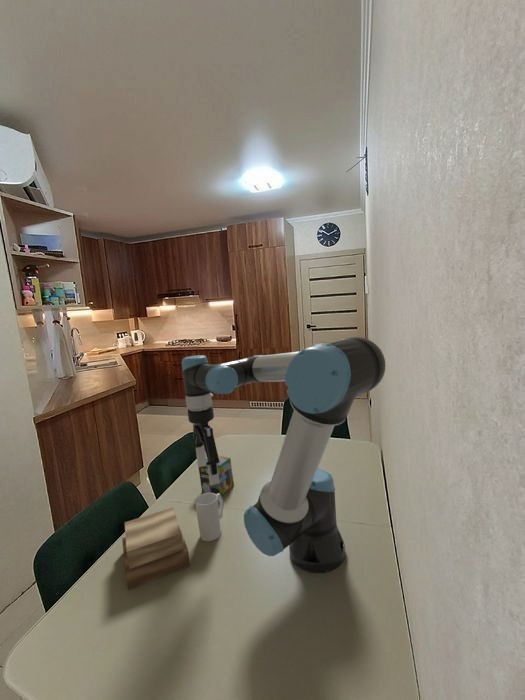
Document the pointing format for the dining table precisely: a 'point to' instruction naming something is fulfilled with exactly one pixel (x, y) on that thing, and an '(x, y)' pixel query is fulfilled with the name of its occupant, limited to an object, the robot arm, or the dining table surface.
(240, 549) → the dining table surface
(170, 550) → the beech slab
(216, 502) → the mug
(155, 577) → the wooden stepped stand
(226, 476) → the chalk box
